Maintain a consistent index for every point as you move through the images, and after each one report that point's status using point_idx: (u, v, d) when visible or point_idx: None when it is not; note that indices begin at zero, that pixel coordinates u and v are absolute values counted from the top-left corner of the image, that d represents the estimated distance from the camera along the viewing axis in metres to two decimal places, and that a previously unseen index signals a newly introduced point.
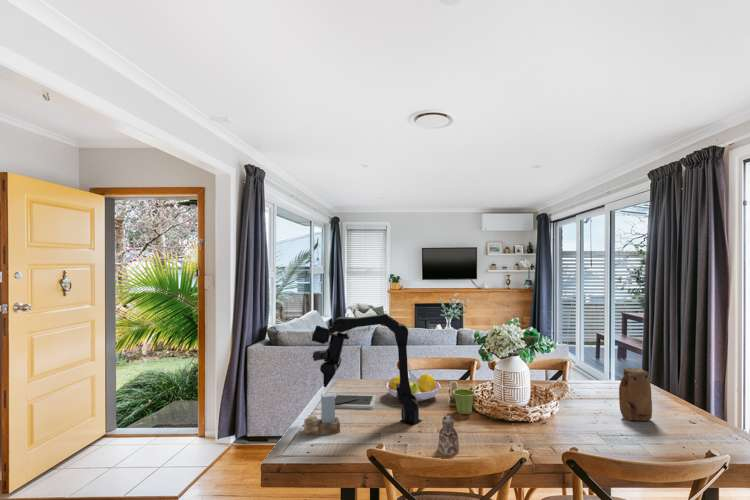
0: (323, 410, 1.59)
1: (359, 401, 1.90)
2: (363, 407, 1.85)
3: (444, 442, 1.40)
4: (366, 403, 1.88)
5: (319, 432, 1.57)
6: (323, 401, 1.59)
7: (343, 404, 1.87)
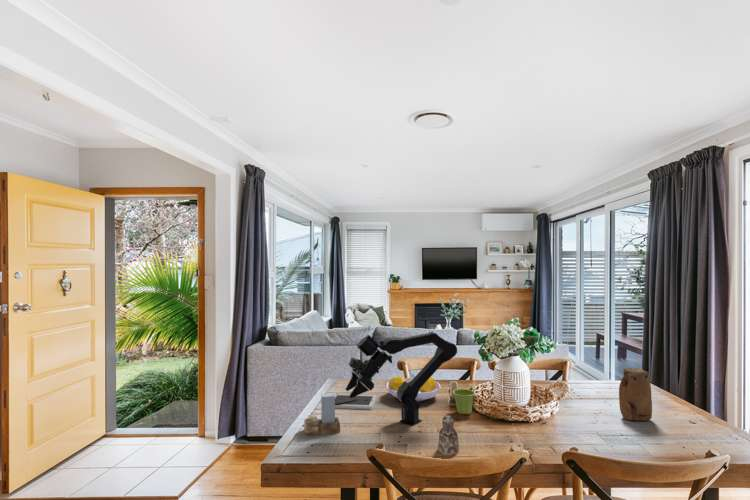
0: (323, 410, 1.59)
1: (358, 401, 1.90)
2: (362, 407, 1.84)
3: (444, 442, 1.40)
4: (366, 403, 1.88)
5: (319, 432, 1.57)
6: (323, 401, 1.59)
7: (342, 404, 1.87)
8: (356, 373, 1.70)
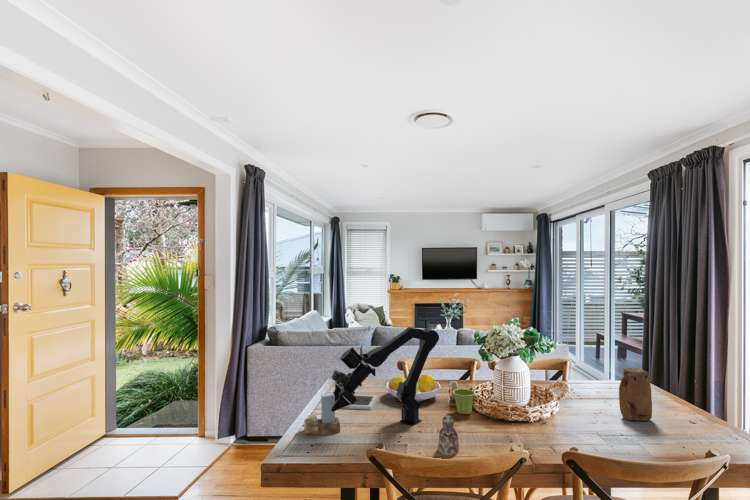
0: (323, 410, 1.59)
1: (358, 402, 1.90)
2: (362, 407, 1.84)
3: (444, 442, 1.40)
4: (366, 403, 1.88)
5: (319, 432, 1.57)
6: (323, 401, 1.59)
7: None
8: (339, 386, 1.68)
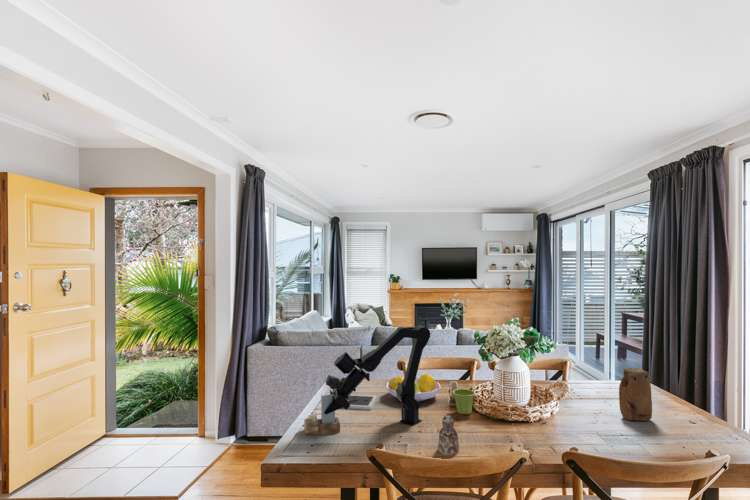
0: (323, 410, 1.59)
1: (358, 402, 1.89)
2: (361, 408, 1.84)
3: (444, 442, 1.40)
4: (365, 403, 1.87)
5: (319, 432, 1.57)
6: (323, 401, 1.59)
7: None
8: (334, 393, 1.65)
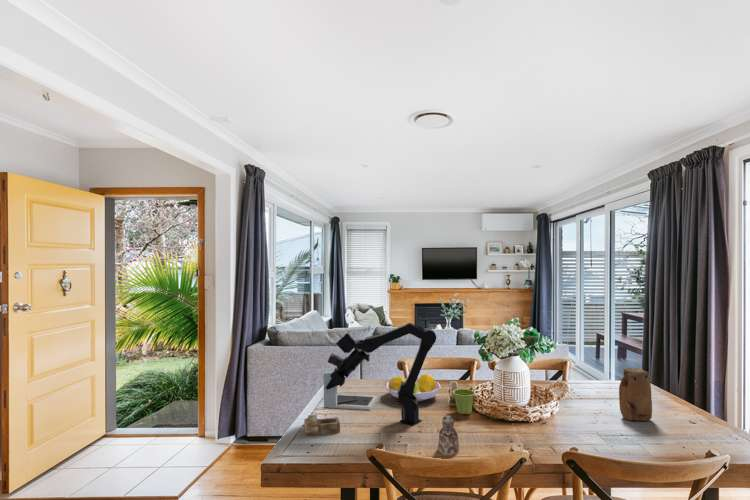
0: (324, 385, 1.71)
1: (357, 402, 1.89)
2: (361, 408, 1.84)
3: (444, 442, 1.40)
4: (365, 403, 1.87)
5: (319, 432, 1.57)
6: (324, 377, 1.71)
7: (341, 404, 1.87)
8: None
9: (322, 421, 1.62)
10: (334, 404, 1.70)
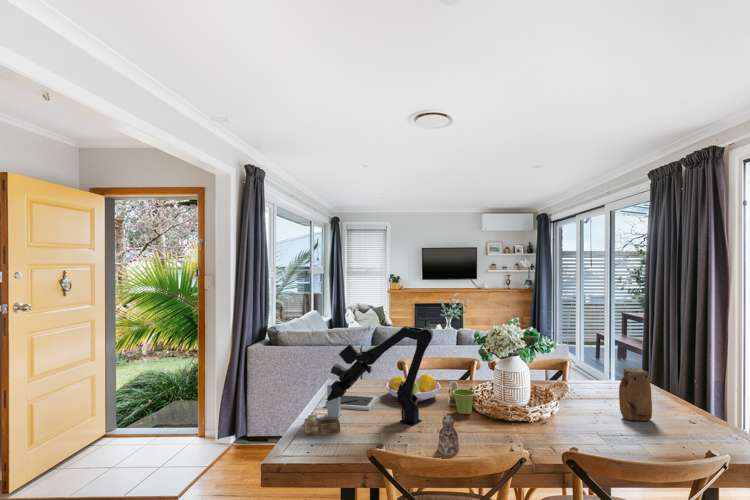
0: None
1: (357, 402, 1.89)
2: (360, 408, 1.83)
3: (444, 442, 1.40)
4: (364, 404, 1.87)
5: (319, 432, 1.57)
6: (328, 389, 1.75)
7: (341, 404, 1.87)
8: None
9: (322, 421, 1.62)
10: (337, 415, 1.74)
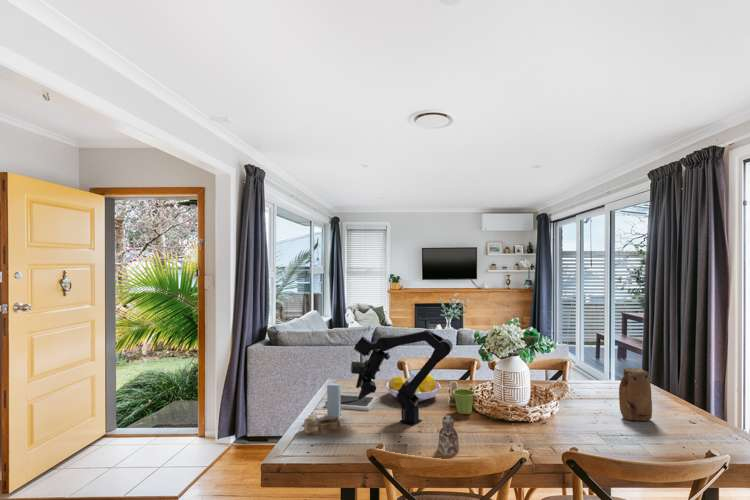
0: (328, 397, 1.75)
1: (357, 402, 1.89)
2: (359, 408, 1.83)
3: (444, 442, 1.40)
4: (364, 404, 1.86)
5: (319, 432, 1.57)
6: (328, 389, 1.75)
7: None
8: None
9: (322, 421, 1.62)
10: (337, 416, 1.74)
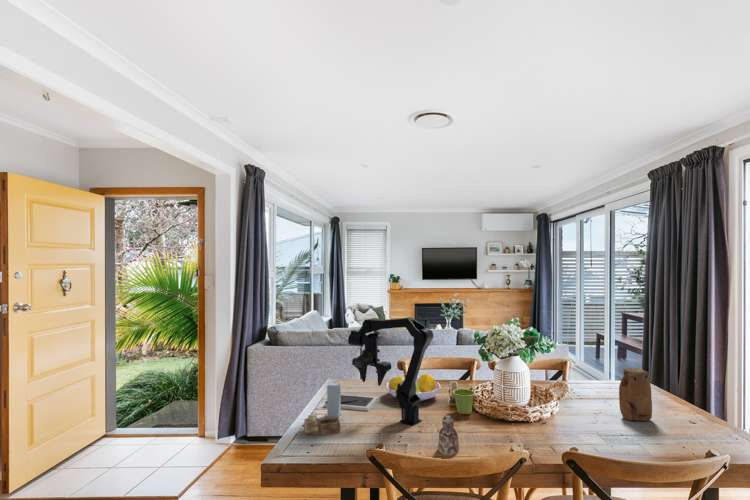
0: (328, 397, 1.75)
1: (356, 402, 1.89)
2: (359, 408, 1.83)
3: (444, 442, 1.40)
4: (364, 404, 1.86)
5: (319, 432, 1.57)
6: (328, 389, 1.75)
7: None
8: None
9: (322, 421, 1.62)
10: (337, 416, 1.74)
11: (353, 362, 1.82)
